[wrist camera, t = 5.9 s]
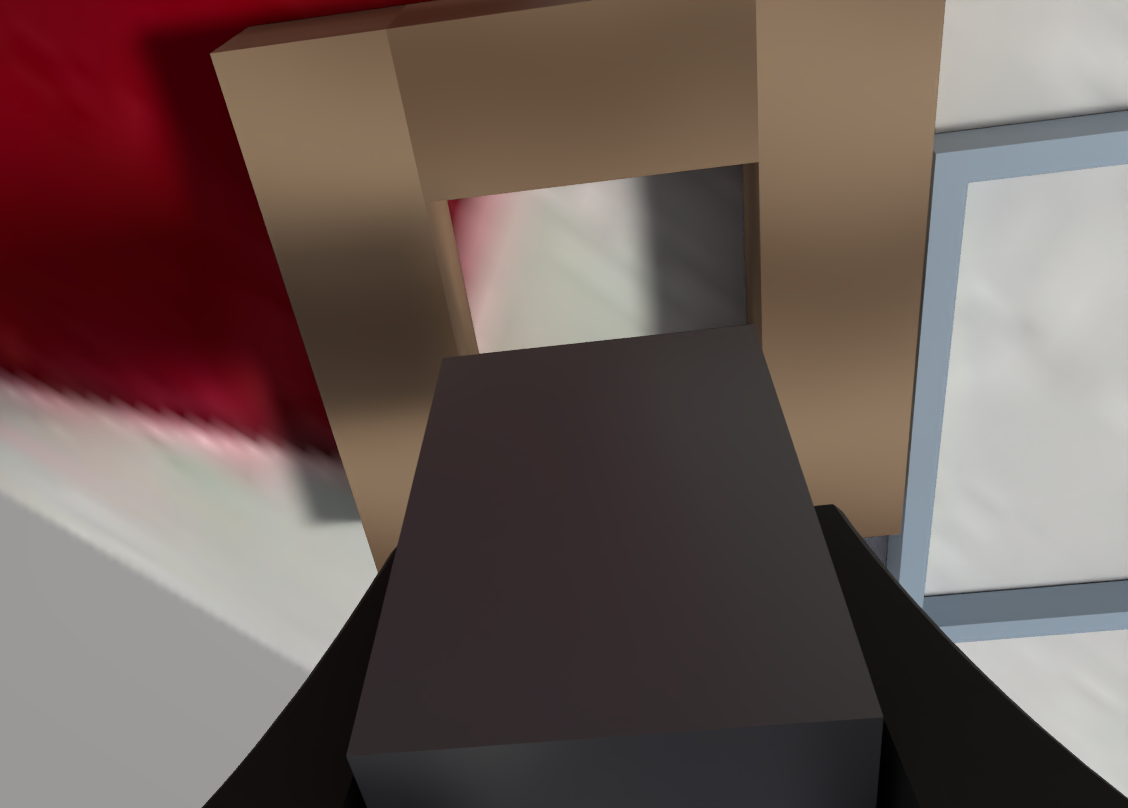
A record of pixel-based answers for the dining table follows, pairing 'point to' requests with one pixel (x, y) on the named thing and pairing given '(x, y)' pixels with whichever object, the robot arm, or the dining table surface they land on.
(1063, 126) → the frame
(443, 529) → the plug
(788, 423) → the socket block
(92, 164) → the dining table surface
